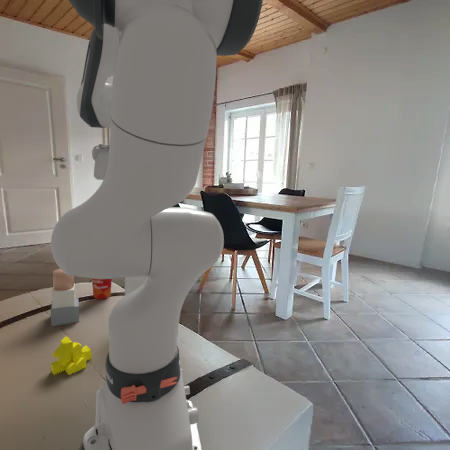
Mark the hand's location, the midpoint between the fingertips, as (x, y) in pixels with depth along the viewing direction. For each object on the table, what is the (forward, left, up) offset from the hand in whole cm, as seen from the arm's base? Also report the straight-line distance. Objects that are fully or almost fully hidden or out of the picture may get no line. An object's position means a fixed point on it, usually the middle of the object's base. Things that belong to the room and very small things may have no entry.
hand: (133, 198), depth 79 cm
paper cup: (+21, +7, -37) cm, 43 cm away
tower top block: (+8, +18, -32) cm, 38 cm away
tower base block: (+8, +18, -37) cm, 42 cm away
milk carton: (-3, -2, -37) cm, 37 cm away
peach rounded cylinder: (+8, +18, -27) cm, 34 cm away
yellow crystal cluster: (-16, +15, -38) cm, 44 cm away
